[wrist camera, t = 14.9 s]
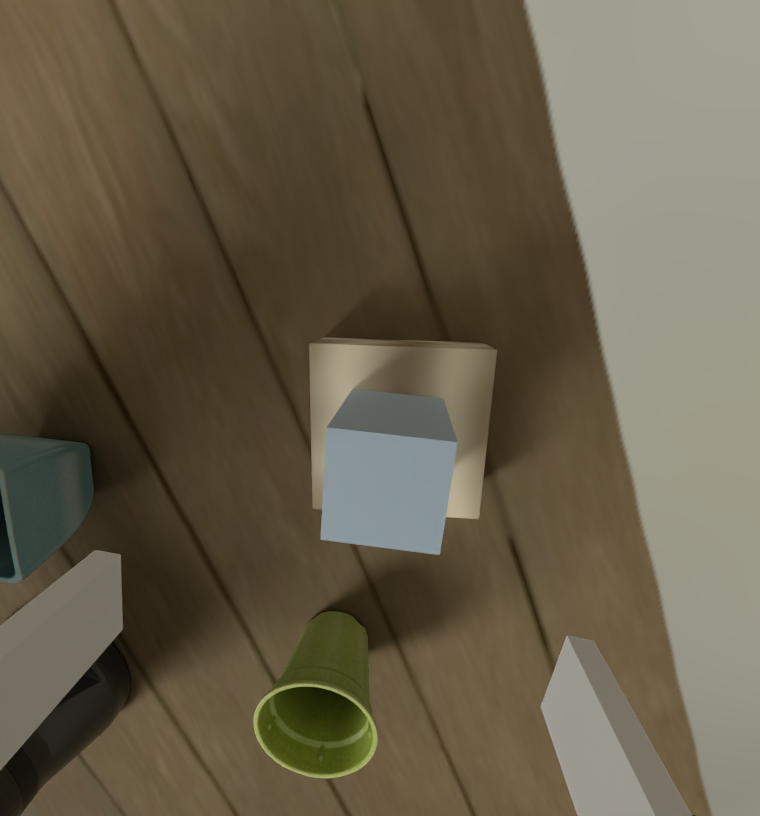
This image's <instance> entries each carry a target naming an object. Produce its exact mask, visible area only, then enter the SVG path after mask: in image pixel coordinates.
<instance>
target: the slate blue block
mask: <svg viewBox="0 0 760 816" xmlns="http://www.w3.org/2000/svg"><path fill="white" fill-rule="evenodd" d="M457 443H458V442H457V439H456V436H455V433H454V429H453V426H452V423H451V420H450V417H449V414H448V411H447V408H446V405H445V402H444V399H443V398H434V397H425V396H416V395H406V394H397V393H388V392H379V391H369V390H360V389H352V390H351V392H350V393H349V395H348V396H347V398H346V399H345V401H344V402H343V404H342V405H341V407H340V408H339V410H338V411H337V413H336V414H335V416H334V417H333V419H332V420H331V422H330V423H329V425H328V426H327V431H326V449H325V467H324V485H323V503H322V521H321V539H320V540H328V541H335V542H343V543H351V544H358V545H366V546H374V547H382V548H389V549H397V550H405V551H412V552H420V553H428V554H436V555H440V550H441V544H442V538H443V531H444V525H445V519H446V512H447V506H448V500H449V494H450V487H451V481H452V475H453V468H454V462H455V456H456V450H457Z"/></svg>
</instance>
